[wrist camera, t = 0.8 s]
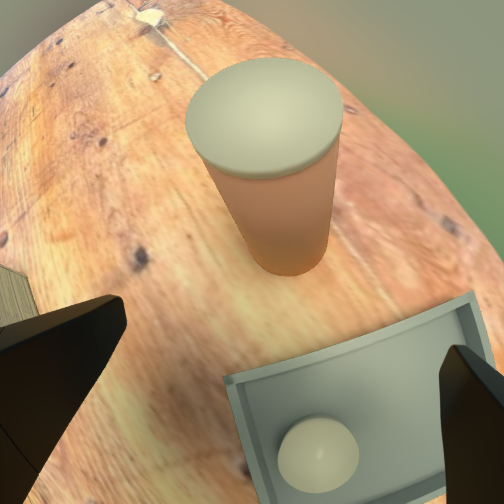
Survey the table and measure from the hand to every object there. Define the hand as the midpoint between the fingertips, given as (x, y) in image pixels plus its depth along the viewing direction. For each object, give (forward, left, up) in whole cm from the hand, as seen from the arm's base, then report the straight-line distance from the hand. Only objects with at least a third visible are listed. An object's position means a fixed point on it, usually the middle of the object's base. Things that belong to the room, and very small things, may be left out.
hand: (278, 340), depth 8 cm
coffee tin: (+2, +8, -13) cm, 15 cm away
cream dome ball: (0, -6, -12) cm, 14 cm away
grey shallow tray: (+4, -6, -13) cm, 15 cm away
